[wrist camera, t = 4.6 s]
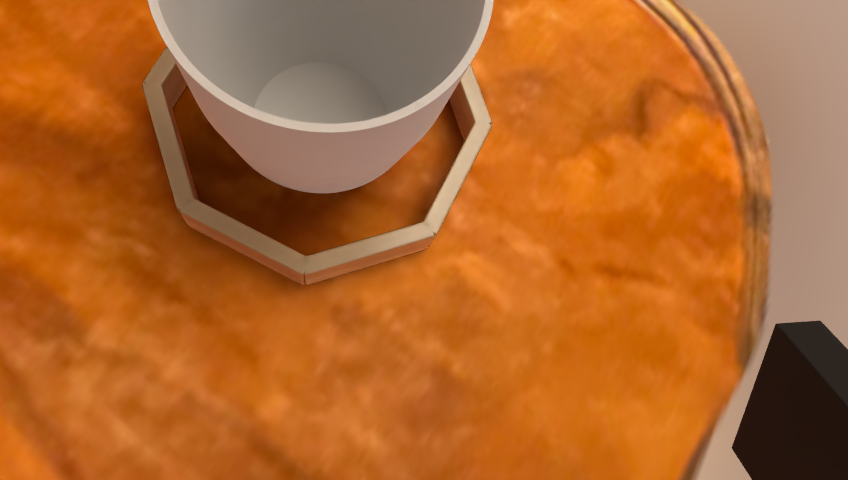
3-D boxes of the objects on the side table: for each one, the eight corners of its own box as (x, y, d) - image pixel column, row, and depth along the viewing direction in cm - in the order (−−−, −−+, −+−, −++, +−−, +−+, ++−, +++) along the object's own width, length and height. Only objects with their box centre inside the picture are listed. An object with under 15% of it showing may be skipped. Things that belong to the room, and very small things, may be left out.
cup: (270, -13, 29) (247, -234, 19) (467, 81, 29) (544, -89, 19) (162, 174, 26) (74, 32, 17) (376, 274, 27) (410, 192, 17)
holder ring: (516, 75, 29) (530, 50, 27) (387, 328, 26) (392, 321, 24) (261, -59, 29) (258, -93, 27) (103, 183, 26) (87, 163, 24)
